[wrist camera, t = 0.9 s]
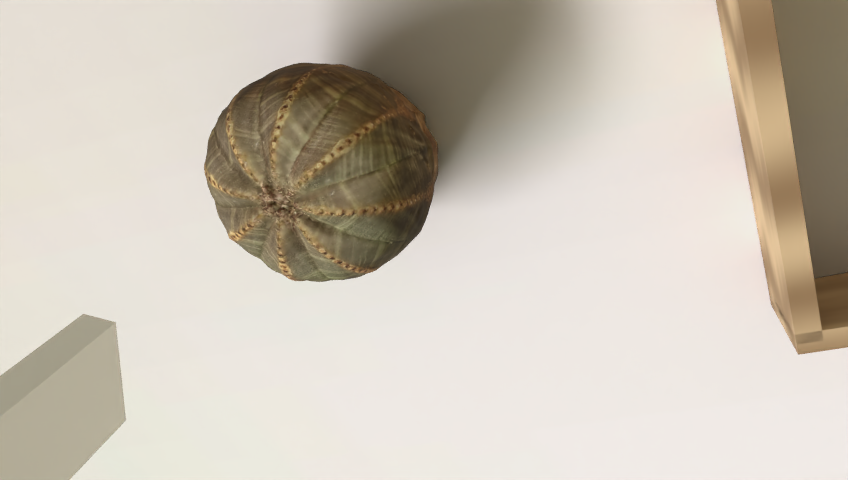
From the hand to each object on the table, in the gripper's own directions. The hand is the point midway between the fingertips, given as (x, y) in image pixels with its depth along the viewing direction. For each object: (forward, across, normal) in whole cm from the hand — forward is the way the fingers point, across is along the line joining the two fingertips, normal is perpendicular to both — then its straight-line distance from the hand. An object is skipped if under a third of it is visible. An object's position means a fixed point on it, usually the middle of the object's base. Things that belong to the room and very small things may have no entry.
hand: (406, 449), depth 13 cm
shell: (+26, -8, -2) cm, 27 cm away
